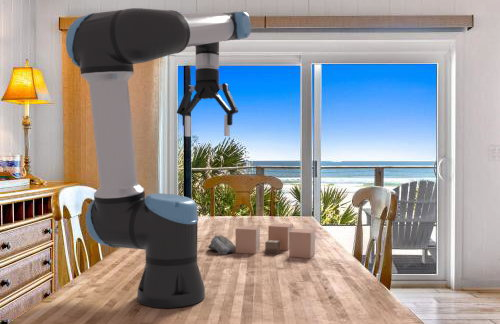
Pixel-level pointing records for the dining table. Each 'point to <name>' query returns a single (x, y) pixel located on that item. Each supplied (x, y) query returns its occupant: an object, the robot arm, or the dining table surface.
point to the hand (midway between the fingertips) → (207, 136)
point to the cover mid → (280, 234)
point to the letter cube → (272, 247)
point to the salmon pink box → (301, 243)
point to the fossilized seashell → (222, 245)
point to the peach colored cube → (247, 239)
